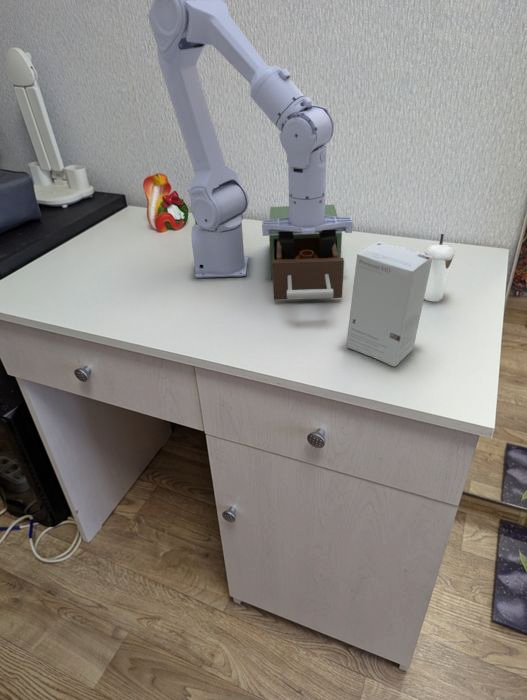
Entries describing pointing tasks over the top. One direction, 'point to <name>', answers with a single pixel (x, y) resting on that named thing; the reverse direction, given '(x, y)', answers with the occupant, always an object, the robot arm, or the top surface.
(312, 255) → the spice bottle
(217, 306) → the top surface
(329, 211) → the cabinet
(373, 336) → the cosmetic box
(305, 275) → the drawer
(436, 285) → the milkshake
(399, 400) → the top surface
